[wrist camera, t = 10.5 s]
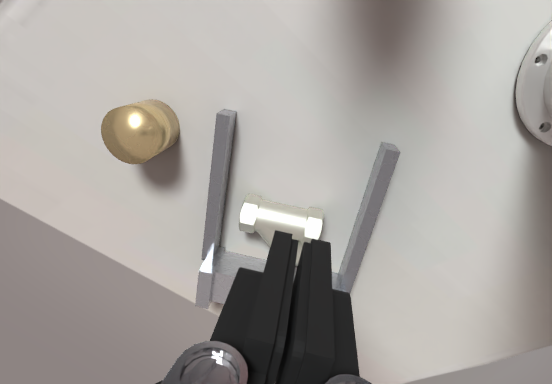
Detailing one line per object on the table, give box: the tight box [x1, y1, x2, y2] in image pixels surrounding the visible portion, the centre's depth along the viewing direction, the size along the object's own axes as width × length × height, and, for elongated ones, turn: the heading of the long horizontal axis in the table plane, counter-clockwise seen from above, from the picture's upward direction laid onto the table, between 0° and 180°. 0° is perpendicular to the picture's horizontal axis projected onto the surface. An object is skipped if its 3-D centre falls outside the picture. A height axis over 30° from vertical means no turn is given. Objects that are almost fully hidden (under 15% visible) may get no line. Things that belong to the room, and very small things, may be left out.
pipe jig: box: [195, 109, 400, 309], centre depth 32 cm, size 16×20×5 cm
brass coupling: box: [101, 100, 180, 164], centre depth 30 cm, size 5×5×5 cm
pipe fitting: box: [239, 194, 324, 265], centre depth 34 cm, size 8×4×7 cm
